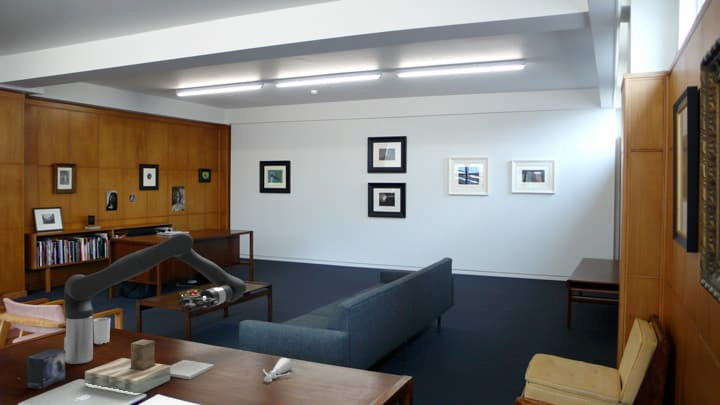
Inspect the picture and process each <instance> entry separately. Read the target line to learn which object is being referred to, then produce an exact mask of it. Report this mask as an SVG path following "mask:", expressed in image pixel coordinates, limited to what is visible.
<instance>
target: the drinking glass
mask: <svg viewBox="0 0 720 405" xmlns="http://www.w3.org/2000/svg"><path fill="white" fill-rule="evenodd" d="M110 330H111V317H98V318H93V344H96V345H103V343H105V344H107V342H108V343H110V336H111V335H110V332H111V331H110Z"/></svg>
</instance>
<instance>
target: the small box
mask: <svg viewBox="0 0 720 405" xmlns="http://www.w3.org/2000/svg"><path fill="white" fill-rule="evenodd" d="M65 356H66V350H64V349H56V348H49V349H46V350H43V351H40V352H38V353H35V354H32V355H30V356H27V365H26V366H27V368H26V369H27V370H26V373H27V374H26V377H27V378H26V388H27V389H36V390H44V389H46V388H48V387H50V386H52V385H55V384H57V383H60V382H62V381H64V380H66V361H65Z"/></svg>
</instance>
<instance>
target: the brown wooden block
mask: <svg viewBox="0 0 720 405" xmlns="http://www.w3.org/2000/svg"><path fill="white" fill-rule="evenodd" d="M155 344H156V341H155V340H149V339H140V340H137V341H134V342H131V343H130V359H131V369H134V370H140V371H145V370H147V369H149V368H152V367H154V366H155V363H156V361H155V348H156V345H155Z"/></svg>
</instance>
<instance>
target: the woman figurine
mask: <svg viewBox="0 0 720 405" xmlns="http://www.w3.org/2000/svg"><path fill="white" fill-rule="evenodd" d="M292 368H293V362H292V359H291V358H286V357H281V358H280V359H278V361H277V363H276V364H275V366H274V367H273V369H272V370H270V371H269V372H266V370H265V368H263V369H262V371H263V373H264V374H265V375H266V376H264V378H263V380H264V381H263V382H265V383H271V382H272V381H273V379H274V380H275V379H277V378H280V377H284V376H290V375H292V372H290V370H292ZM288 371H289V372H288ZM286 372H287V373H286Z"/></svg>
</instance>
